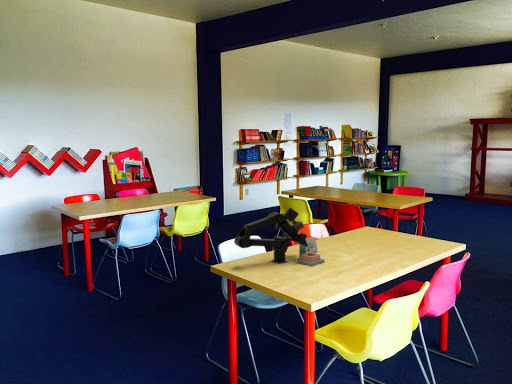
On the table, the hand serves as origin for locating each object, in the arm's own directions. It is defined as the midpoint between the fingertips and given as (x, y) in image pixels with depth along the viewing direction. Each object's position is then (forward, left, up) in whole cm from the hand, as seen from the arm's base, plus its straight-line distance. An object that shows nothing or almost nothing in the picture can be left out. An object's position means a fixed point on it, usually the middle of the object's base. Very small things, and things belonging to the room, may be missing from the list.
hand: (303, 244), depth 262 cm
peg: (0, 0, -8) cm, 8 cm away
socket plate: (-4, -9, -8) cm, 13 cm away
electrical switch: (+12, +5, -8) cm, 15 cm away
